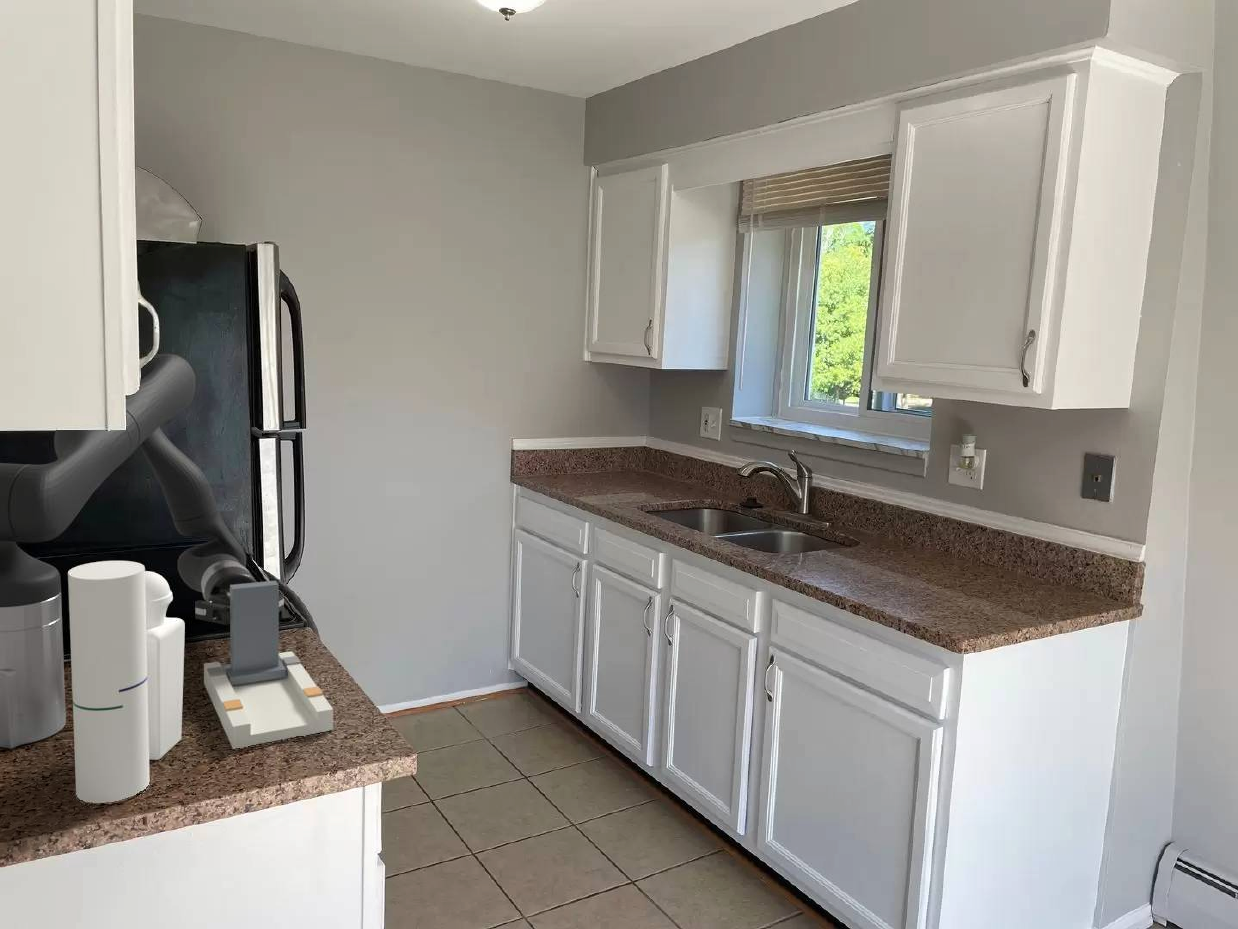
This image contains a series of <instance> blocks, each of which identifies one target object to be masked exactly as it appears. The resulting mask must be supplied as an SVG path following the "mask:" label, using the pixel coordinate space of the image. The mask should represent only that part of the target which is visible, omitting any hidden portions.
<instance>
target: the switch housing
mask: <svg viewBox="0 0 1238 929" xmlns="http://www.w3.org/2000/svg"><path fill="white" fill-rule="evenodd" d="M279 659H280V661H281V662H282V664H283V665H284V667H285V668H286V677H285V678H279V679H272V680H266V681H259V682H252V683H246V684H239V685H233V686H231V684H230V682H229V680H228V678H227V676H226V672H225V670H224V668H223V665H221V662H220V661H213V662H206V663H203V685H204V688H206V691H207V693H208V696H209V699H210V700H211V703H212V705H213V707H214V709H215V712H216V714H217V716H218V718H220V719H219V721H220V724H221V725H222V727H223V731H224V732H225V734H226V737H227V739H228V742H229V743H230V746H231V748H232V750H233V749H235V748H240V749H244V747H246V748H249V747H248V746H251V745H256V744H259V743H264V742H271V741H276V740H281V739H285V738H290V737H296V736H304V737H307V736H306V735H310V734H315V733H319V732H325V731H329V730H333V731H334V708H333V706H331V704H330V703H329V700H327V698H326V697H325V695H324V691H322V690H321V688H320V686H317V684H316V683H315V681H314V679H312V677H311V675H309V673H308V672H307V670H306V669H305V667H304V666H303V665H302V663H301V659H299V657H298V656H297V655H295V653H294V652H293V651H285V652H279ZM315 735H316V734H315ZM310 736H311V735H310ZM256 746H257V745H256ZM251 747H252V746H251ZM235 750H236V749H235Z"/></svg>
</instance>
